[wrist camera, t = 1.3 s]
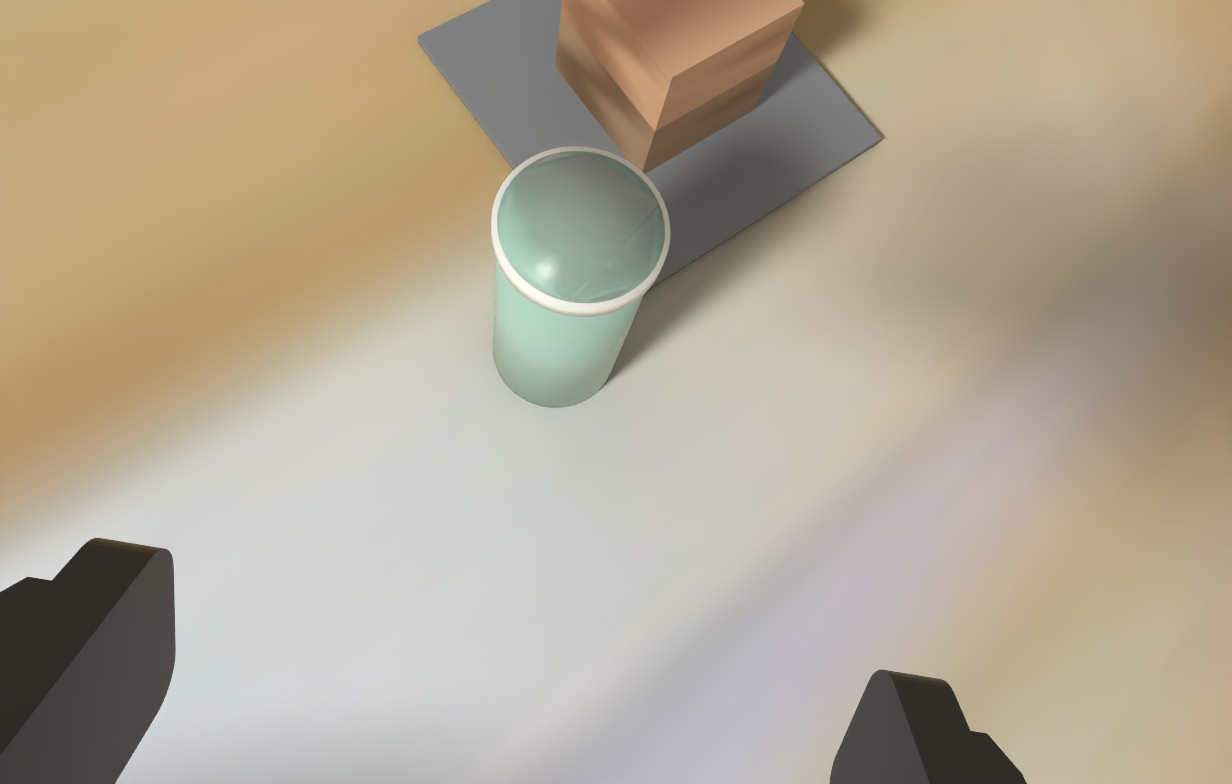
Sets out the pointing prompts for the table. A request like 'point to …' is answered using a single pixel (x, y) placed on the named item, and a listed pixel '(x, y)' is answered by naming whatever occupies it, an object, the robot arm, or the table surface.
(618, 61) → the cherry block
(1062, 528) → the table surface
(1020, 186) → the table surface
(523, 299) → the sage canister
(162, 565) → the robot arm
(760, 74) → the walnut block
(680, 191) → the slate mat
